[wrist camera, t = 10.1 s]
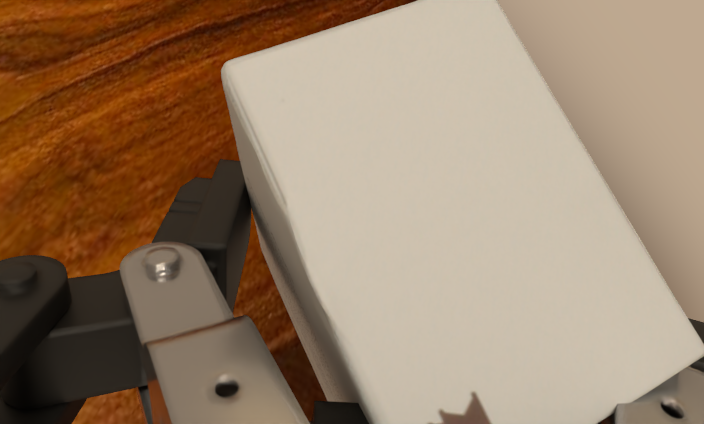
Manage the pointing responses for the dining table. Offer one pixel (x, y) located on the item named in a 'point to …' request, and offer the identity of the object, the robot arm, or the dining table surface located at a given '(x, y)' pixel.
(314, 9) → the dining table surface
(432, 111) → the cosmetic box
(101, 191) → the dining table surface
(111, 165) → the dining table surface
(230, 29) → the dining table surface
